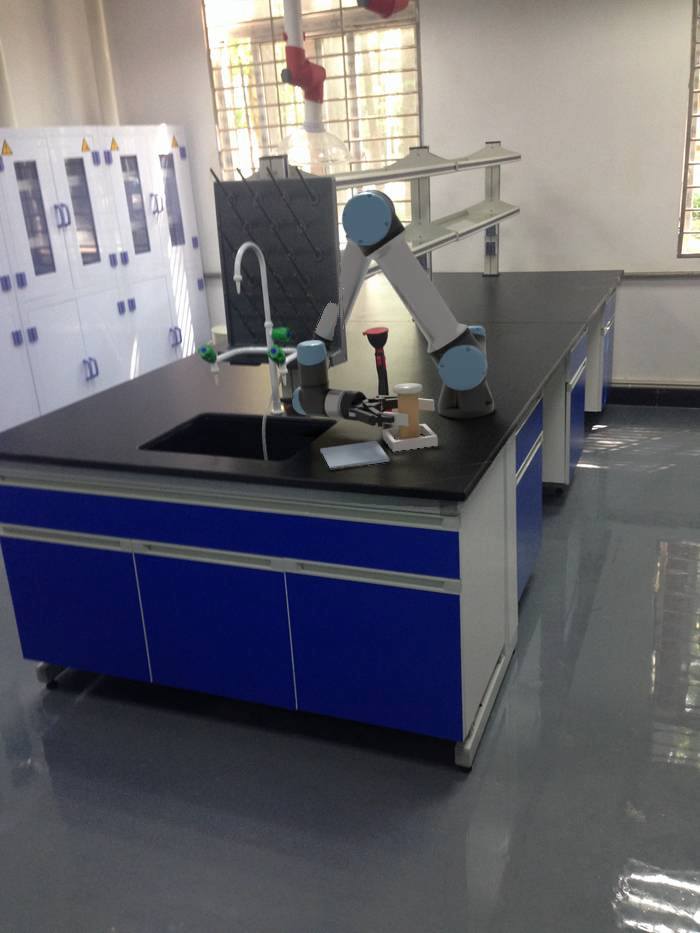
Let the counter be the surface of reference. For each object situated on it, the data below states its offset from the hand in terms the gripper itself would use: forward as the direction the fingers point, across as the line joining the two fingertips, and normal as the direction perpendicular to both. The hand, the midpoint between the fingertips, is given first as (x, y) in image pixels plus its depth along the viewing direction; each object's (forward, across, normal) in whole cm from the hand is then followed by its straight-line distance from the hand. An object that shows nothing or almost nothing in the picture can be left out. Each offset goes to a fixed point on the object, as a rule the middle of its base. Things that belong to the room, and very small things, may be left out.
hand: (420, 412), depth 200 cm
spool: (-4, 0, -8) cm, 9 cm away
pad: (-11, +14, -8) cm, 19 cm away
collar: (-4, 0, -8) cm, 9 cm away
